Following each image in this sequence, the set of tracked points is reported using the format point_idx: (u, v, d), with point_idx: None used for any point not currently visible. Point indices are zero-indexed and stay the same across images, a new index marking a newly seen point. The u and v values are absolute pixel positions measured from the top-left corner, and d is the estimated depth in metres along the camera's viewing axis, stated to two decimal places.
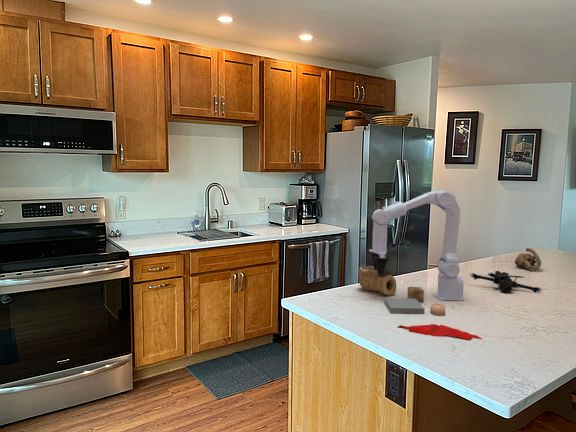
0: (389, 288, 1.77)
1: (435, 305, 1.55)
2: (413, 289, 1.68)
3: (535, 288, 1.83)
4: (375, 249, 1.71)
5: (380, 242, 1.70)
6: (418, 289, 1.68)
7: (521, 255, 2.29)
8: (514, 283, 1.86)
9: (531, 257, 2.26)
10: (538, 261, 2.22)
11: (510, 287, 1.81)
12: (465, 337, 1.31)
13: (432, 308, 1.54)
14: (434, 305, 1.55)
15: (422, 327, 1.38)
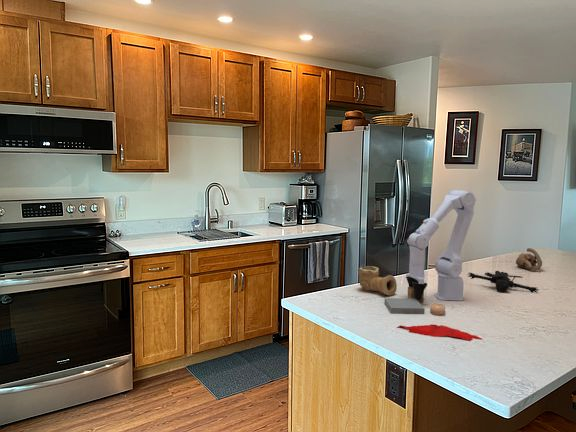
0: (389, 288, 1.77)
1: (435, 305, 1.55)
2: (413, 289, 1.68)
3: (532, 288, 1.84)
4: (412, 274, 1.67)
5: (418, 267, 1.66)
6: None
7: (522, 255, 2.28)
8: (511, 283, 1.86)
9: (532, 257, 2.26)
10: (539, 261, 2.22)
11: (506, 286, 1.82)
12: (465, 337, 1.31)
13: (432, 308, 1.54)
14: (434, 305, 1.55)
15: (422, 327, 1.37)
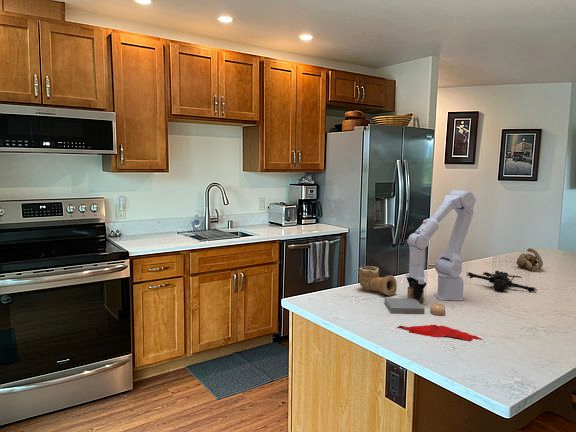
0: (389, 288, 1.77)
1: (435, 305, 1.55)
2: None
3: (530, 288, 1.84)
4: (412, 274, 1.67)
5: (418, 267, 1.66)
6: None
7: (523, 255, 2.28)
8: (509, 282, 1.87)
9: (533, 257, 2.25)
10: (540, 261, 2.22)
11: (504, 286, 1.83)
12: (465, 338, 1.31)
13: (432, 308, 1.54)
14: (434, 305, 1.55)
15: (422, 327, 1.37)
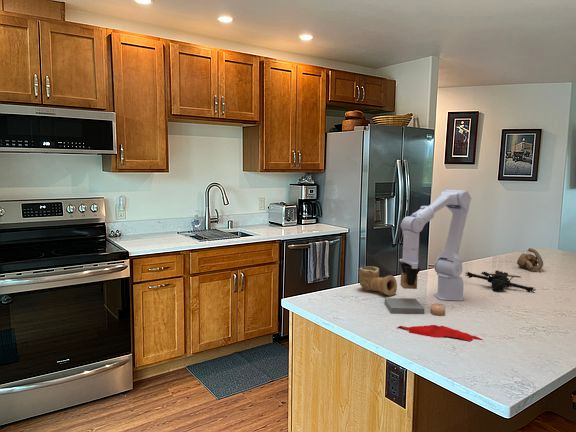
0: (390, 288, 1.77)
1: (435, 305, 1.55)
2: (406, 274, 1.62)
3: (529, 288, 1.84)
4: (405, 259, 1.61)
5: (412, 251, 1.59)
6: None
7: (523, 255, 2.28)
8: (508, 282, 1.87)
9: (533, 257, 2.25)
10: (540, 261, 2.21)
11: (502, 286, 1.83)
12: (465, 338, 1.31)
13: (432, 308, 1.54)
14: (434, 305, 1.55)
15: (422, 328, 1.37)
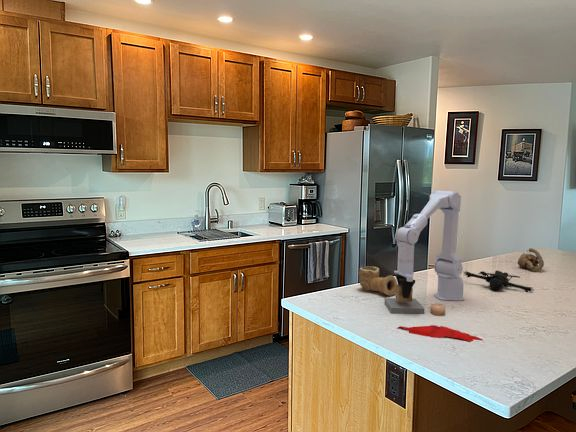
0: (390, 288, 1.77)
1: (435, 305, 1.55)
2: (401, 287, 1.58)
3: (527, 288, 1.84)
4: (400, 271, 1.57)
5: (406, 263, 1.56)
6: None
7: (524, 255, 2.28)
8: (506, 282, 1.88)
9: (534, 257, 2.25)
10: (541, 262, 2.21)
11: (499, 285, 1.84)
12: (465, 338, 1.30)
13: (432, 308, 1.54)
14: (434, 305, 1.55)
15: (422, 328, 1.37)
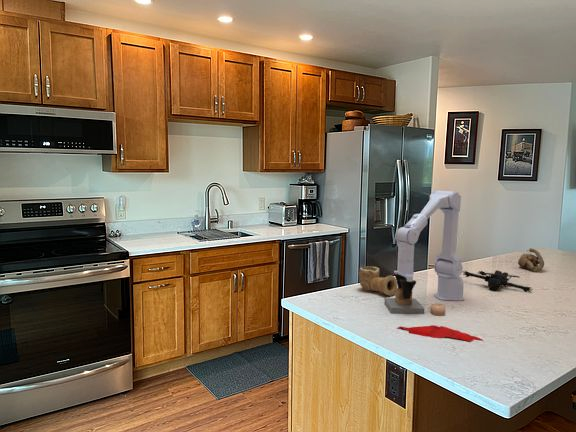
0: (390, 288, 1.77)
1: (435, 305, 1.55)
2: (401, 290, 1.58)
3: (525, 288, 1.84)
4: (400, 271, 1.57)
5: (406, 263, 1.56)
6: None
7: (524, 256, 2.27)
8: (504, 282, 1.88)
9: (534, 258, 2.24)
10: (541, 262, 2.21)
11: (498, 285, 1.84)
12: (465, 338, 1.30)
13: (432, 308, 1.54)
14: (434, 305, 1.55)
15: (422, 328, 1.36)
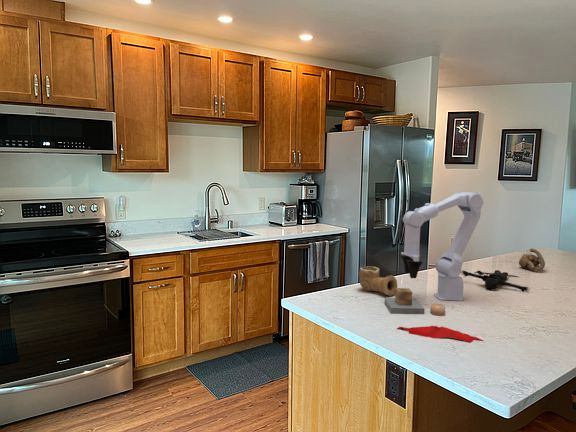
0: (390, 288, 1.77)
1: (435, 305, 1.55)
2: (401, 290, 1.58)
3: (523, 287, 1.84)
4: (407, 252, 1.67)
5: (413, 245, 1.66)
6: (406, 290, 1.59)
7: (525, 256, 2.27)
8: (502, 281, 1.88)
9: (535, 258, 2.24)
10: (542, 262, 2.20)
11: (494, 285, 1.85)
12: (465, 339, 1.30)
13: (432, 308, 1.54)
14: (434, 305, 1.55)
15: (422, 329, 1.36)
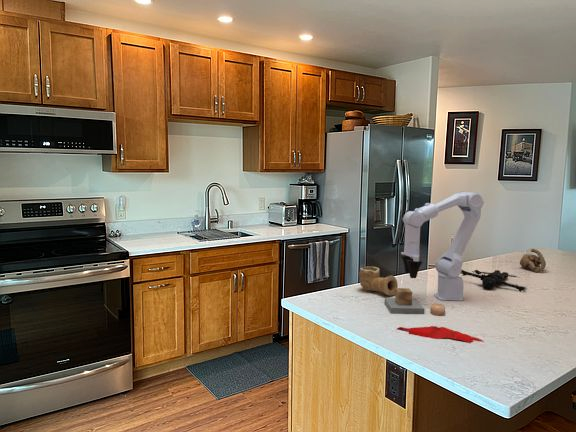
0: (390, 288, 1.77)
1: (435, 305, 1.55)
2: (401, 290, 1.58)
3: (520, 287, 1.85)
4: (407, 252, 1.67)
5: (413, 245, 1.66)
6: (406, 290, 1.59)
7: (526, 256, 2.27)
8: (499, 281, 1.89)
9: (536, 258, 2.24)
10: (543, 262, 2.20)
11: (491, 284, 1.86)
12: (466, 339, 1.29)
13: (432, 308, 1.54)
14: (434, 305, 1.55)
15: (422, 329, 1.36)
